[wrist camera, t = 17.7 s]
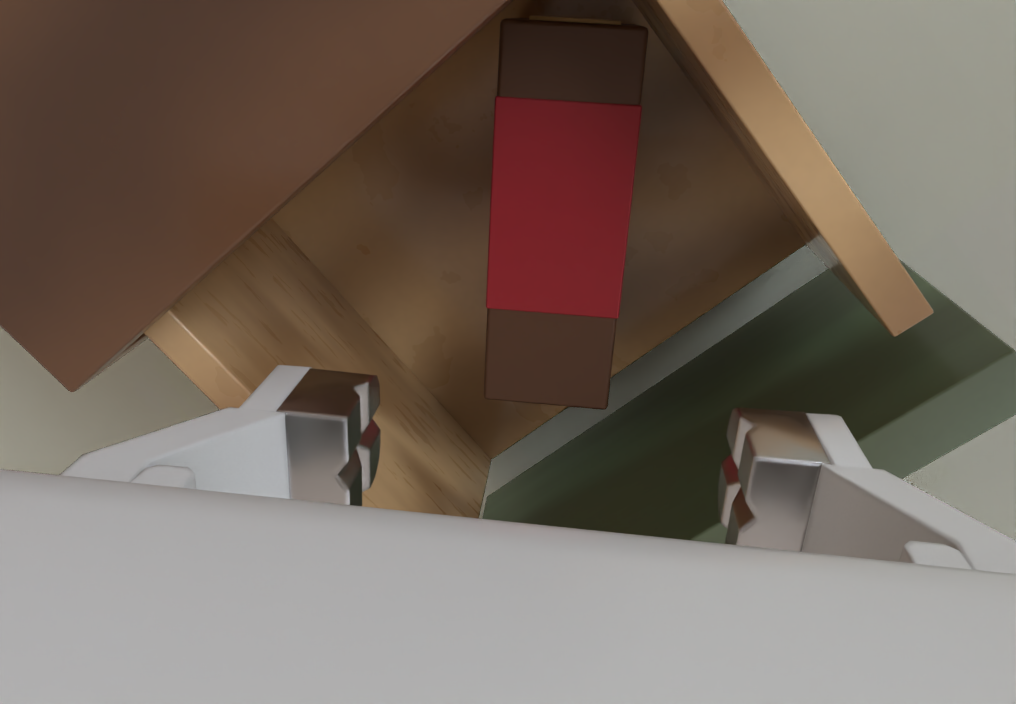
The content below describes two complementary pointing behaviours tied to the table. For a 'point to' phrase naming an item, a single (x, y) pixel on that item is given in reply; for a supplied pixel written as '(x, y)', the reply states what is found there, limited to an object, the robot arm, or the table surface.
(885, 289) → the drawer
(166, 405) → the table surface
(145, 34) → the cabinet
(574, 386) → the chocolate bar
